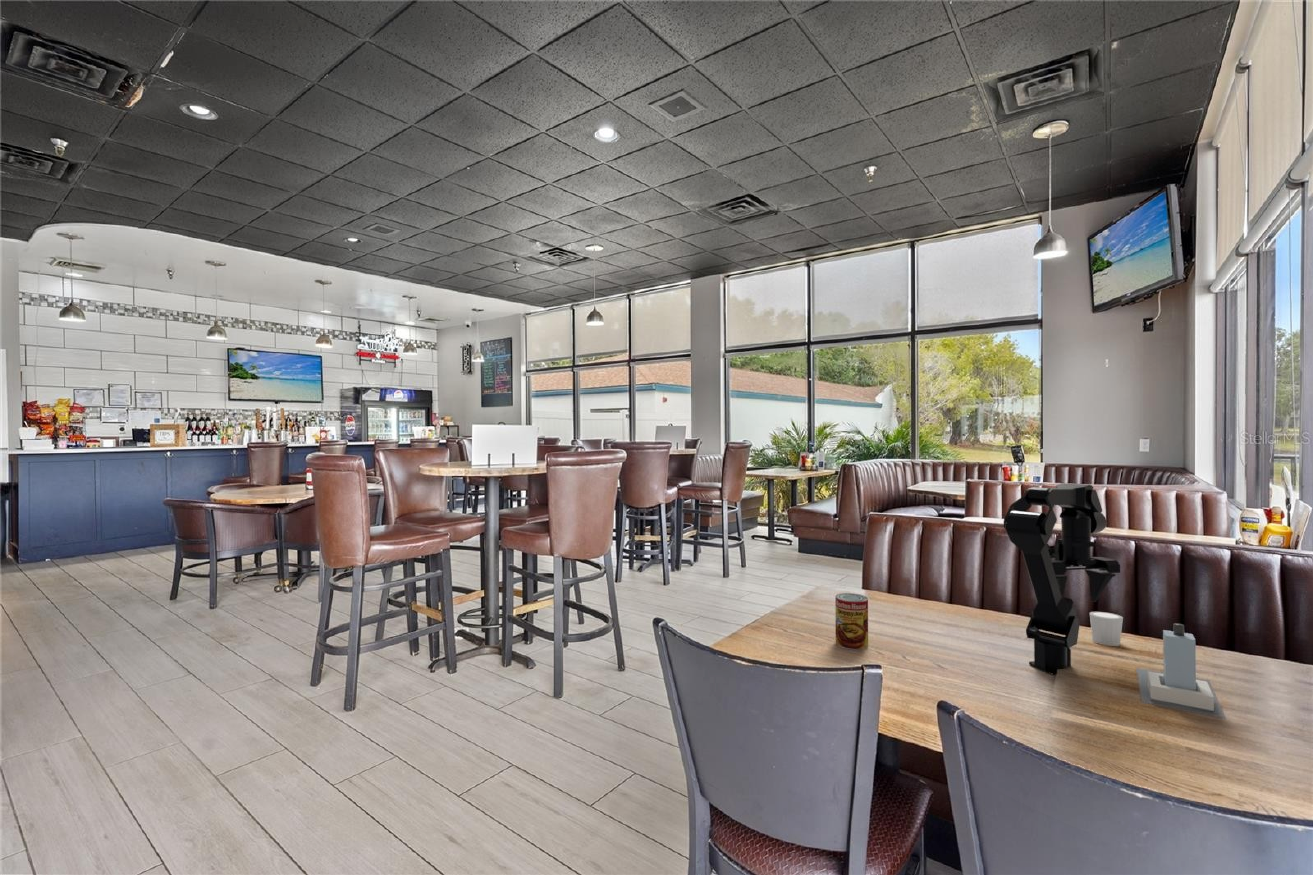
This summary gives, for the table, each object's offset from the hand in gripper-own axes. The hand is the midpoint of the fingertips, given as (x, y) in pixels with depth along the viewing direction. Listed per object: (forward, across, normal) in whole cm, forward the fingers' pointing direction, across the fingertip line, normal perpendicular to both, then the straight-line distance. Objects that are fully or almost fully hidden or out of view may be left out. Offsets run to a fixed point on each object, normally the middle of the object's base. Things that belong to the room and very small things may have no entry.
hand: (1076, 601), depth 143 cm
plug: (+12, +2, +26) cm, 28 cm away
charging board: (+13, -2, +22) cm, 26 cm away
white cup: (+13, -16, -8) cm, 22 cm away
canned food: (+13, +49, -16) cm, 53 cm away
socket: (+12, +2, +26) cm, 29 cm away
